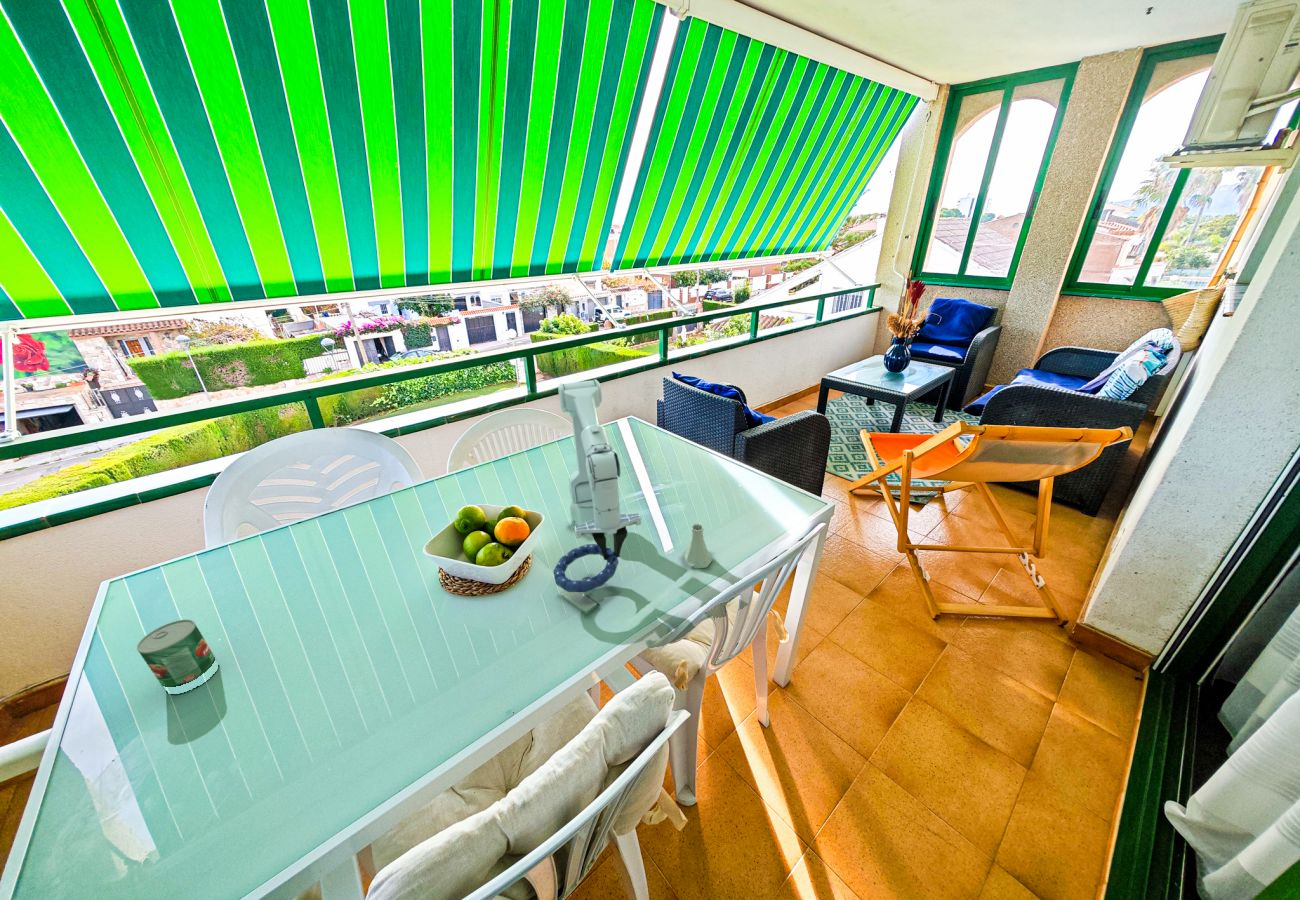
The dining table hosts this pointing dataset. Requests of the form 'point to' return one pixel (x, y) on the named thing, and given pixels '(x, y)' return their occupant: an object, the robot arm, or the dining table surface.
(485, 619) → the dining table surface
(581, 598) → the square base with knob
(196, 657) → the canned tomato
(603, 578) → the ring
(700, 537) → the flask
